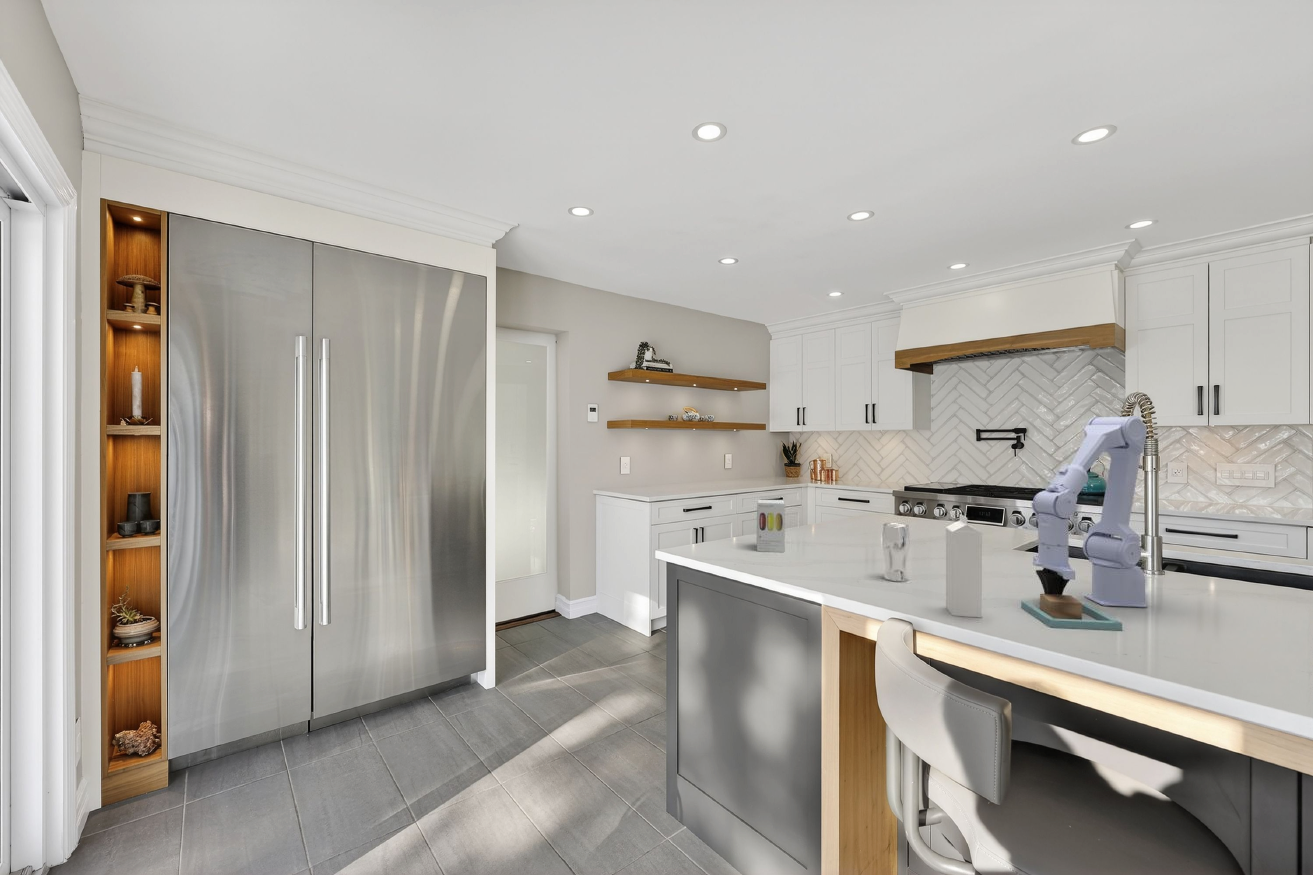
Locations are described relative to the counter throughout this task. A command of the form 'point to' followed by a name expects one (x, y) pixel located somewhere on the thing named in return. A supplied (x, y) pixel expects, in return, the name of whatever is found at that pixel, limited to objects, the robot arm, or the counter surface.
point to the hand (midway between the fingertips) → (1053, 602)
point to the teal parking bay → (1101, 623)
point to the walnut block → (1061, 606)
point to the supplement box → (771, 526)
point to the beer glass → (895, 551)
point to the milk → (963, 569)
